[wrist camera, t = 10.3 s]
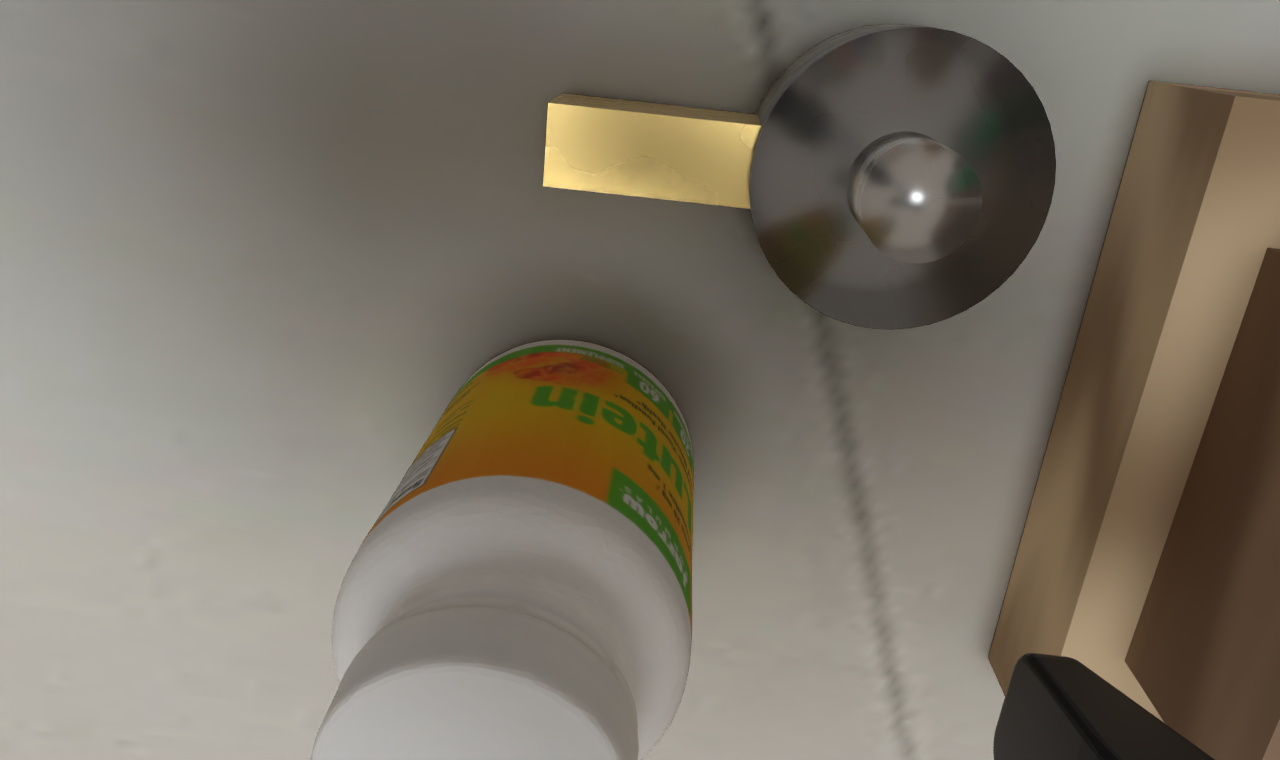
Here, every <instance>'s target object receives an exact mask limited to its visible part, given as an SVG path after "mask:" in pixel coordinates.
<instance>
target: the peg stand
mask: <svg viewBox="0 0 1280 760" xmlns="http://www.w3.org/2000/svg"><path fill="white" fill-rule="evenodd" d="M1267 247H1268V248H1277V249H1280V95H1277V94H1267V93H1258V92H1249V91H1240V90H1230V89H1221V88H1212V87H1202V86H1193V85H1184V84H1174V83H1165V82H1156V81H1149V84H1148V88H1147V91H1146V95H1145V98H1144V102H1143V106H1142V109H1141V113H1140V116H1139V120H1138V124H1137V127H1136V131H1135V134H1134V138H1133V141H1132V145H1131V149H1130V152H1129V156H1128V159H1127V163H1126V166H1125V170H1124V174H1123V177H1122V181H1121V184H1120V188H1119V192H1118V195H1117V199H1116V202H1115V206H1114V209H1113V213H1112V217H1111V220H1110V224H1109V227H1108V231H1107V234H1106V238H1105V242H1104V245H1103V249H1102V252H1101V256H1100V260H1099V263H1098V267H1097V270H1096V274H1095V277H1094V281H1093V285H1092V288H1091V292H1090V295H1089V299H1088V302H1087V306H1086V310H1085V313H1084V317H1083V320H1082V324H1081V328H1080V331H1079V335H1078V338H1077V342H1076V345H1075V349H1074V353H1073V356H1072V360H1071V363H1070V367H1069V370H1068V374H1067V378H1066V381H1065V385H1064V388H1063V392H1062V395H1061V399H1060V403H1059V406H1058V410H1057V413H1056V417H1055V421H1054V424H1053V428H1052V431H1051V435H1050V438H1049V442H1048V446H1047V449H1046V453H1045V456H1044V460H1043V463H1042V467H1041V471H1040V474H1039V478H1038V481H1037V485H1036V489H1035V492H1034V496H1033V499H1032V503H1031V506H1030V510H1029V514H1028V517H1027V521H1026V524H1025V528H1024V531H1023V535H1022V539H1021V542H1020V546H1019V549H1018V553H1017V557H1016V560H1015V564H1014V567H1013V571H1012V574H1011V578H1010V582H1009V585H1008V589H1007V592H1006V596H1005V599H1004V603H1003V607H1002V610H1001V614H1000V617H999V621H998V625H997V628H996V632H995V635H994V639H993V642H992V646H991V650H990V653H989V657H988V659H989V661H990V664H991V666H992V668H993V670H994V673H995V675H996V677H997V679H998V682H999V684H1000V686H1001V689H1002V691H1003V693H1004V695H1005V696H1006V693H1007V689H1008V686H1009V682H1010V679H1011V676H1012V672H1013V669H1014V666H1015V664H1016V662H1017V661H1018V659H1019V658H1020V657H1021V656H1023V655H1024V654H1026V653H1038V654H1047V655H1056V656H1065V657H1070V658H1073V659H1076V660H1078V661H1079V662H1081V663H1082V664H1083V665H1085V666H1086V667H1088V668H1089V669H1090V670H1092V671H1093V672H1095V673H1096V674H1097V675H1099V676H1100V677H1101V678H1103V679H1104V680H1106V681H1107V682H1108V683H1110V684H1111V685H1112V686H1114V687H1115V688H1117V689H1118V690H1119V691H1121V692H1122V693H1124V694H1125V695H1126V696H1128V697H1129V698H1130V699H1132V700H1133V701H1135V702H1136V703H1137V704H1139V705H1140V706H1142V707H1143V708H1144V709H1146V710H1147V711H1148V712H1150V713H1151V714H1153V715H1154V716H1155V717H1157V718H1158V719H1160V720H1161V721H1162V722H1164V721H1163V720H1162V718H1161V717H1160V715H1159V714H1158V712H1157V710H1156V709H1155V707H1154V706H1153V704H1152V703H1151V701H1150V700H1149V698H1148V697H1147V695H1146V693H1145V692H1144V690H1143V689H1142V687H1141V686H1140V684H1139V683H1138V681H1137V680H1136V678H1135V676H1134V675H1133V673H1132V672H1131V670H1130V669H1129V667H1128V666H1127V664H1126V663H1125V658H1126V655H1127V652H1128V649H1129V646H1130V643H1131V640H1132V637H1133V635H1134V632H1135V629H1136V626H1137V623H1138V620H1139V617H1140V614H1141V611H1142V609H1143V606H1144V603H1145V600H1146V597H1147V594H1148V591H1149V588H1150V585H1151V582H1152V580H1153V577H1154V574H1155V571H1156V568H1157V565H1158V562H1159V559H1160V556H1161V554H1162V551H1163V548H1164V545H1165V542H1166V539H1167V536H1168V533H1169V530H1170V528H1171V525H1172V522H1173V519H1174V516H1175V513H1176V510H1177V507H1178V504H1179V502H1180V499H1181V496H1182V493H1183V490H1184V487H1185V484H1186V481H1187V478H1188V475H1189V473H1190V470H1191V467H1192V464H1193V461H1194V458H1195V455H1196V452H1197V449H1198V447H1199V444H1200V441H1201V438H1202V435H1203V432H1204V429H1205V426H1206V423H1207V421H1208V418H1209V415H1210V412H1211V409H1212V406H1213V403H1214V400H1215V397H1216V394H1217V392H1218V389H1219V386H1220V383H1221V380H1222V377H1223V374H1224V371H1225V368H1226V366H1227V363H1228V360H1229V357H1230V354H1231V351H1232V348H1233V345H1234V342H1235V340H1236V337H1237V334H1238V331H1239V328H1240V325H1241V322H1242V319H1243V316H1244V314H1245V311H1246V308H1247V305H1248V302H1249V299H1250V296H1251V293H1252V290H1253V287H1254V285H1255V282H1256V279H1257V276H1258V273H1259V270H1260V267H1261V264H1262V261H1263V259H1264V256H1265V253H1266V250H1267Z"/></svg>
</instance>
